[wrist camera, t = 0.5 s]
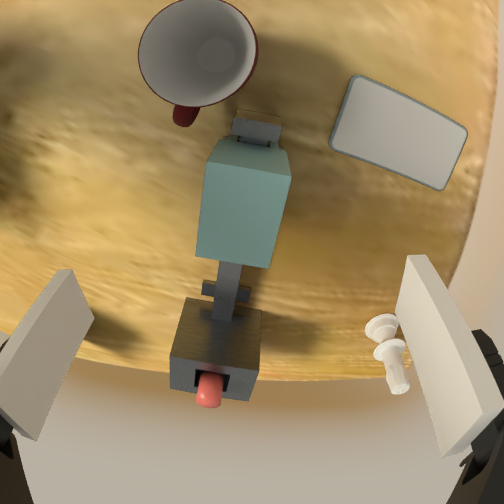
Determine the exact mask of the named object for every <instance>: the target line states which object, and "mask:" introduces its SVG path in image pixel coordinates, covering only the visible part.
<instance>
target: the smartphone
mask: <svg viewBox="0 0 504 504" xmlns="http://www.w3.org/2000/svg"><path fill="white" fill-rule="evenodd" d="M467 135H468V133H467V130H466V128H465V127H464V126H462V125H460V124H459V123H457V122H455V121H453V120H452V119H450V118H448V117H447V116H445V115H443V114H441V113H439V112H438V111H436V110H434V109H432V108H430V107H428V106H426V105H425V104H423V103H421V102H419V101H417V100H415V99H413V98H411V97H409V96H407V95H405V94H403V93H400V92H398V91H396V90H394V89H392V88H390V87H388V86H386V85H384V84H381V83H379V82H376V81H374V80H372V79H369V78H367V77H364V76H362V75H354V76H353V77H352V78H351V79H350V82H349V85H348V87H347V90H346V93H345V96H344V99H343V102H342V105H341V108H340V111H339V113H338V116H337V119H336V122H335V125H334V128H333V130H332V133H331V136H330V139H329V146H330V147H331V149H332V150H334V151H337V152H340V153H342V154H345V155H348V156H351V157H354V158H356V159H359V160H362V161H365V162H368V163H370V164H373V165H376V166H378V167H381V168H384V169H386V170H389V171H391V172H394V173H396V174H399V175H401V176H404V177H406V178H409V179H411V180H414V181H416V182H418V183H421V184H423V185H425V186H428V187H430V188H432V189H435V190H437V191H441V190H443V189H444V188H445V186H446V184H447V182H448V180H449V178H450V175H451V173H452V171H453V169H454V167H455V164H456V162H457V160H458V157H459V155H460V153H461V150H462V148H463V146H464V143H465V141H466V138H467Z"/></svg>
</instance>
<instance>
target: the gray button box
mask: <svg viewBox="0 0 504 504" xmlns="http://www.w3.org/2000/svg"><path fill="white" fill-rule="evenodd" d="M212 309H213V302H209V301H203V300H197V299H192V298H187V297H186V300H185V303H184V307H183V310H182V314H181V317H180V321H179V324H178V328H177V331H176V335H175V338H174V342H173V345H172V349H171V353H170V388H171V389H175V390H180V391H185V392H191V393H197V392H198V386H199V380H200V375H201V374H202V373H203V372H205V371H211V372H217V373H219V374H221V375H222V376H223V378H224V381H223V390H222V398H228V399H234V400H242V401H249V398H250V396H251V393H252V390H253V387H254V384H255V382H256V379H257V376H258V373H259V363H260V330H261V310H256V309H250V308H244V307H238V306H234V309H233V314H232V319H231V322H229V321H223V320H217V319H212V318H211V316H212Z"/></svg>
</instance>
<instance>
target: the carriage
mask: <svg viewBox="0 0 504 504" xmlns="http://www.w3.org/2000/svg"><path fill="white" fill-rule="evenodd" d="M237 139H238V136H237V135H231V134H230V135H229V137H228V139H227V140H224V139H219V141H218V143H217V145H216V146H215V148H214V150H213V151H212V153H211V155H210V157H209V158H208V160H207V163H206V170H205V178H204V185H203V193H202V201H201V209H200V218H199V227H198V236H197V245H196V255H195V256H197V257H203V258H208V259H214V260H220V261H226V262H231V263H237V264H243V265H249V266H254V267H260V268H266V269H269V265H270V261H271V257H272V254H273V250H274V246H275V242H276V238H277V234H278V230H279V226H280V223H281V219H282V215H283V211H284V207H285V203H286V199H287V195H288V191H289V187H290V183H291V179H292V175H291V170H290V166H289V161H288V157H287V152H286V151H284V150H279V145H278V143H275V142H270V144H269V147H264V146H259V145H254V144H248V143H242V142H237Z"/></svg>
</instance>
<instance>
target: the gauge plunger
mask: <svg viewBox="0 0 504 504" xmlns="http://www.w3.org/2000/svg"><path fill="white" fill-rule="evenodd" d="M223 381H224V378H223V376H222V375H221V374H219V373H217V372H211V371H205V372H203V373H202V374H201V375H200V380H199V386H198V392H197V398H196V402H197V403H198V404H199V405H201V406H203V407H206V408H217V407H219V406H220V405H221V398H222V390H223Z"/></svg>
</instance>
